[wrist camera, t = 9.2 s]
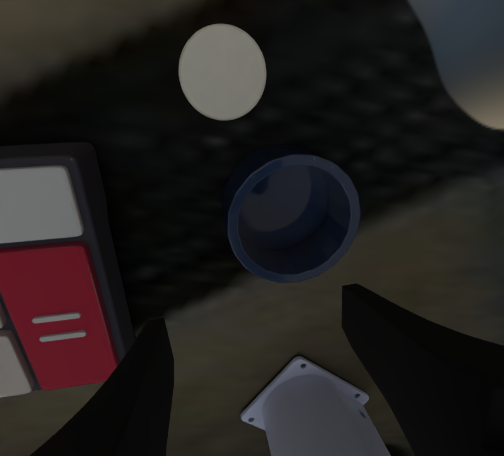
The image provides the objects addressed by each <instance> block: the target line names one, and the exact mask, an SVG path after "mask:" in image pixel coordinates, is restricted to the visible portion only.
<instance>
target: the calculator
mask: <svg viewBox="0 0 504 456" xmlns="http://www.w3.org/2000/svg"><path fill="white" fill-rule="evenodd" d="M134 341H135V336H134V331H133V327H132V323H131V318H130V314H129V309H128V305H127V301H126V296H125V292H124V288H123V283H122V279H121V274H120V270H119V266H118V261H117V257H116V253H115V248H114V244H113V239H112V235H111V231H110V226H109V222H108V211H107V200H106V196H105V191H104V187H103V182H102V178H101V173H100V169H99V164H98V160H97V155H96V151H95V148H94V146H93V145H92V144H90V143H88V142H69V143H50V144H30V145H10V146H0V397H6V396H13V395H20V394H26V393H29V392H31V391H34V390H41V389H43V390H53V389H59V388H66V387H72V386H79V385H86V384H92V383H99V382H105V381H106V380H107V379H108V378H109V376H110V375H111V374H112V372H113V371H114V370H115V368H116V367H117V366H118V364H119V363H120V362H121V360H122V359H123V357H124V356H125V354H126V353H127V352H128V350H129V349H130V347H131V346H132V344H133V343H134Z"/></svg>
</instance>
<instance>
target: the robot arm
mask: <svg viewBox="0 0 504 456" xmlns="http://www.w3.org/2000/svg"><path fill="white" fill-rule="evenodd" d="M342 328H343V330H344V332H345V334H346V337H347V339H348V341H349V343H350V345H351V347H352V349H353V350H354V352H355V353H356V355H357V356H358V358H359V359H360V361H361V363H362V364H363V366H364V367H365V369H366V370H367V372H368V373H369V375H370V376H371V378H372V379H373V381H374V382H375V384H376V385H377V387H378V388H379V390H380V391H381V393H382V394H383V396H384V398H385V399H386V401H387V402H388V404H389V406H390V408H391V409H392V411H393V413H394V415H395V417H396V419H397V421H398V423H399V425H400V426H401V428H402V430H403V432H404V434H405V436H406V438H407V440H408V442H409V444H410V446H411V448H412V450H413V452H414V454H415V456H504V346H503V345H499V344H495V343H491V342H488V341H484V340H481V339H478V338H475V337H472V336H469V335H465V334H463V333H460V332H457V331H454V330H451V329H449V328H446V327H444V326H441V325H439V324H436V323H434V322H431V321H429V320H427V319H425V318H422V317H420V316H418V315H416V314H414V313H412V312H410V311H408V310H406V309H404V308H402V307H400V306H398V305H396V304H394V303H392V302H390V301H388V300H387V299H385V298H383V297H381V296H379V295H378V294H376V293H374V292H372V291H370V290H368V289H367V288H365V287H363V286H361V285H359V284H357V283H356V284H350V285H345V286H342ZM302 364H303V365H302ZM173 387H174V358H173V353H172V349H171V345H170V341H169V337H168V333H167V328H166V324H165V320H164V318H161V319H155V320H149V321H147V322H146V324H145V325H144V327H143V328H142V330H141V332H140V333H139V335H138V336H137V338H136V340H135V341H134V343H133V344H132V346H131V347H130V349H129V350H128V352H127V353H126V354H125V356H124V357H123V359H122V360H121V362H120V363H119V364H118V366H117V367H116V368H115V370H114V371H113V372H112V374H111V375H110V376H109V378H108V379H107V380H106V381H105V383H104V384H103V385H102V386H101V388H100V389H99V390H98V391H97V392H96V393H95V395H94V396H93V397H92V398H91V399H90V400H89V401H88V402H87V403H86V404H85V405H84V407H83V408H82V409H81V410H80V411H79V412H77V413H76V414H75V415H74V416H73V417H72V418H71V419H70V420H69V421H68V422H67V423H66V424H65V425H64V426H63V427H62V428H61V429H60V430H59V431H58V432H57V433H56V434H54V435H53V436H52V437H51V438H50V439H49V440H48V441H47V442H45V443H44V444H43V445H42V446H41V447H39V448H38V449H37V450H36V451H35V452H33V453H32V454H31V455H30V456H166V446H167V437H168V429H169V421H170V413H171V404H172V396H173ZM368 400H369V396H368V395H367V393H365V392H363V391H362V390H360V389H358V388H356V387H354V386H353V385H351V384H349V383H347V382H346V381H344V380H342V379H340V378H339V377H337V376H335V375H333V374H332V373H330V372H328V371H326V370H324V369H323V368H321V367H319V366H317V365H316V364H314V363H312V362H310V361H309V360H307V359H305V358H303V357H301V356H297V357H295V358H294V359H293V360H292V361H291V362H290V363H289V364H288V365H287V366H286V367H285V368H284V369H283V370H282V371H281V372H280V373H279V374H278V375H277V376H276V378H275V379H274V380H273V381H272V382H271V383H270V384H269V385H268V386H267V387H266V388H265V389H264V390H263V391H262V392H261V393H260V394H259V395H258V396H257V397H256V398H255V399H254V400H253V401H252V403H251V404H250V405H249V406H248V407H247V408H246V409H245V410H244V411H243V412H242V413H241V419H242V420H243V421H244V422H247V423H249V424H251V425H254V426H256V427H258V428H261V429H263V430H265V431H266V435H267V439H268V444H269V448H270V453H271V456H391V455H390V454H389V452H388V450H387V448H386V446H385V445H384V443H383V441H382V439H381V437H380V436H379V434H378V432H377V430H376V428H375V426H374V425H373V423H372V421H371V419H370V417H369V416H368V414H367V412H366V410H365V408H364V407H363V405H364V404H365V403H366V402H367V401H368Z"/></svg>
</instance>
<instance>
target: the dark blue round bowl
mask: <svg viewBox="0 0 504 456" xmlns="http://www.w3.org/2000/svg"><path fill="white" fill-rule="evenodd" d="M222 215H223V219H224V223H225V227H226V231H227V235H228V238H229V241H230V244H231V247H232V250H233V252H234V254H235V256H236V257H237V258H238V260H239V261H240V262H241V263H242V265H243V266H244V267H245V268H246V269H247V270H249V271H250V272H252V273H254V274H255V275H257V276H258V277H260V278H263V279H266V280H270V281H274V282H278V283H289V282H300V281H304V280H307V279H310V278H313V277H316V276H318V275H320V274H321V273H323V272H325V271H326V270H328V269H329V268H331V267H332V266H334V265H335V264H336V263H337V262H338V261H339V259H340V258H341V257H342V256H343V255H344V254H345V253H346V252H347V250H348V249H349V247H350V245H351V243H352V241H353V239H354V237H355V235H356V233H357V230H358V225H359V220H360V205H359V197H358V193H357V191H356V189H355V187H354V185H353V183H352V181H351V179H350V177H349V176H348V175H347V174H346V173H345V172H344V171H343V170H342V169H341V168H340V167H339V166H337V165H336V164H335V163H333V162H332V161H330V160H328V159H325V158H323V157H321V156H319V155H317V154H315V153H313V152H311V151H308V150H306V149H303V148H301V147H298V146H294V145H286V144H278V145H271V146H267V147H264V148H261V149H258V150H256V151H254V152H252V153H251V154H249V155H248V156H246V157H245V158H244V159H243V160H242V161H240V162H239V163H238V165H237V166H236V167H235V168H234V169H233V171H232V172H231V174H230V175H229V177H228V179H227V181H226V184H225V187H224V190H223V195H222Z"/></svg>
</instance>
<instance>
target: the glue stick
mask: <svg viewBox="0 0 504 456" xmlns="http://www.w3.org/2000/svg"><path fill="white" fill-rule="evenodd" d="M179 79H180V84H181V87H182V90H183V92H184V94H185V96H186V98H187V99H188V101H189V102H190V104H191V105H192V106H193V107H194V108H195V109H196V110H197V111H199V112H200V113H202V114H203V115H205V116H207V117H209V118H212V119H216V120H233V119H236V118H239V117H241V116H243V115H245V114H247V113H248V112H249V111H250V110H252V109H253V108H254V106H255V105H256V104H257V103H258V101H259V100H260V98H261V96H262V94H263V91H264V88H265V83H266V65H265V61H264V57H263V54H262V52H261V50H260V48H259V46H258V45H257V43H256V42H255V41H254V39H253V38H252V37H251V36H250V35H249V34H247V33H246V32H245V31H243V30H242V29H240V28H238V27H235V26H232V25H228V24H213V25H209V26H206V27H204V28H202V29H200V30H199V31H197V32H196V33H195V34H194V35H193V36H191V38H190V39H189V40H188V41H187V43H186V45H185V46H184V48H183V51H182V53H181V57H180V61H179Z"/></svg>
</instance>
